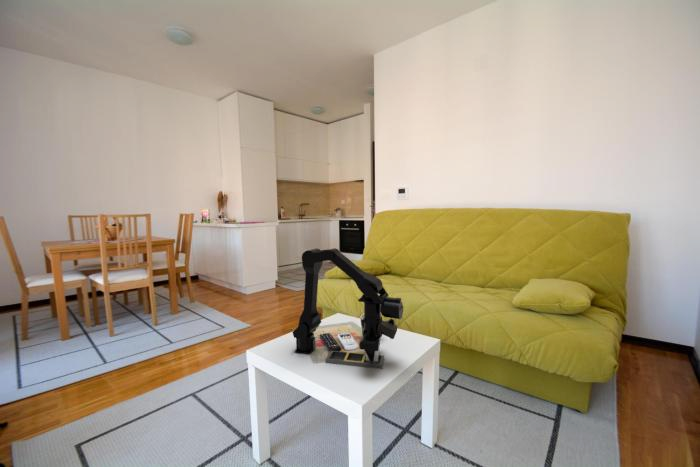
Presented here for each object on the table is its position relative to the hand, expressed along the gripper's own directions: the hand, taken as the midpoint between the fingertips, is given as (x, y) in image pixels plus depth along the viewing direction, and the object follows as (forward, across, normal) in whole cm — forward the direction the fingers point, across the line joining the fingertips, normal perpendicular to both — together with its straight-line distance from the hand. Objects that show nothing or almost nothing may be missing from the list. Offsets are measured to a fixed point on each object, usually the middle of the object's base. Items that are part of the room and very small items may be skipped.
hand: (372, 357), depth 104 cm
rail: (+2, 0, +6) cm, 7 cm away
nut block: (+2, 0, 0) cm, 2 cm away
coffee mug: (+3, +20, +3) cm, 20 cm away
